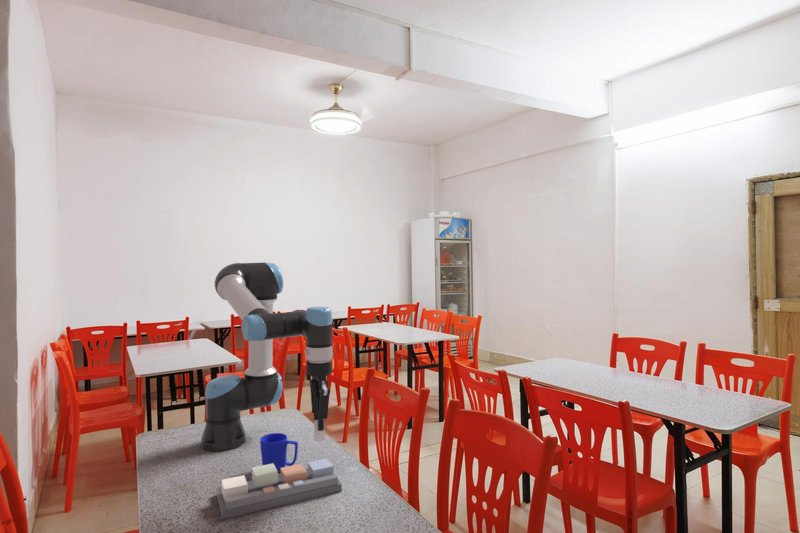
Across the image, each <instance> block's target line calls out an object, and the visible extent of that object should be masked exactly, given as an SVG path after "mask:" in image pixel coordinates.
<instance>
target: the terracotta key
mask: <svg viewBox="0 0 800 533" xmlns="http://www.w3.org/2000/svg"><path fill="white" fill-rule="evenodd" d="M280 470H281V471H280V475H281V480H282V482H283V484H286V483H288V484H291V483H293V482H295V481H299V480H302V481H305V480H307V474H306V470H305V468H304V466H303V464H302V463H297V464H293V465H292V466H287V465H286V466H285V467H283V468H280Z"/></svg>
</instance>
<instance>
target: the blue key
mask: <svg viewBox="0 0 800 533" xmlns="http://www.w3.org/2000/svg"><path fill="white" fill-rule="evenodd" d="M334 466H335V465H333V463H332V462H331V461H330V460H329V459H328V458H323V459H322V458H321V459H318V460H317V459H316V460H314V461H308V462H307V469H308V473H309V475H310V476H311V478H312V479H314V478H319V477H323V476H328V475H332V474H335V471H334Z"/></svg>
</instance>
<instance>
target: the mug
mask: <svg viewBox="0 0 800 533" xmlns="http://www.w3.org/2000/svg"><path fill="white" fill-rule="evenodd" d="M259 442H260V453H261V466H262V465H267V464H272V463H273V464H274V465H275V467H276V469H277V471H278V473H280V472H281V470H280V468H283V467H287V466H292V465H295V463H296V461H297V458H298V451H299V442H298V441H295V440H288V436H287V434H285V433H281V432H273V433H269V434H265V435H263V436H261V437H260V440H259ZM290 444H291V445H294V456H293V460H292V462H288V461H287V453H288V452H287V449H288V445H290Z"/></svg>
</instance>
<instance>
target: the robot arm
mask: <svg viewBox="0 0 800 533" xmlns="http://www.w3.org/2000/svg"><path fill="white" fill-rule="evenodd" d="M283 288H284V278H283V274H282V270H280V267H279V266H278V265H277V264H276V263H274V262H264V261H263V262H244V263H243V262H242V263H241V262H235V263H230V264H228V265H226V266H225V267H222V269H221V270H220V271H218V273H217V274H216V276H215V279H214V289H215V291H216V293H217V294H218V297H220V298H221V299H222V300H224V301H226V302H227V303H228V304H229V305H230V306H231V308H232V309H233V311H234V312H235V313H236V315H238V318H240V320H241V326H240V327H241V333H242V337H243V339H244V340H245V341H247V342H248V367H247V368H246V370H244V372H243V373H244V376H243V377H240V376H239V375H238V374H230V375H229V374H227V375H222V376H219V377H216V378H213V379H210V381H209V382H207V384H206V386H205V395H204V398H205V426H204V429H203V431H202V436H201V440H200V447H201V449H203V450H204V451H209V452H222V451H228V450H233V449H236V448H238V447H240V446H243V445H244V444H245V443H246V441H247V438H246V437H247V436H246V435H247V434H246V431H245V428H244V426H243V423H242V421H241V412H242V411H248V410H252V409H258V408H263V407H264V408H266V407H269V406H272V405H274V404H277V403H278V402H279V400H280V398H281V397H282V394H283V393H282V392H283V381H282V380H283V379H282V375H280V373H279V372H277V369H276V367H274V366H273V361H274V360H273V353H274V351H273V349H274V348H273V343H274V342H273V341H274V339H275V340H276V339H283V338H285V339H286V338H292V337H305V348H306V349H305V350H303V351H304V354H306V357H305V358H306V359H305V360H307V361H306V363H305V371H306V372H305V373H306V375H308V376H309V377H311V379H309V380H308V382H309V388H310V401H311V413H312V414H313V422H314V426H313V427H314V428H313V429H314V430H313V431H314V436H313V438H314V442H315V443H317V442H323V441H326V429H325V428H326V421H325V420H326V419H327V420H328V415H329V414H328V413H329V400H330V393H331V389H330V387H328V386H329V381H328V380H327V376H328V375H331V374H333V361H332V359H333V321H334V320H333V312H332V311H333V310H332V308H330V307H328V306H311V307H307V308H306V309H296V310H292V311H288V312H287V311H286V312H274V303H275V301H277V300H278V294H281V293H282V292H283Z"/></svg>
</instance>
